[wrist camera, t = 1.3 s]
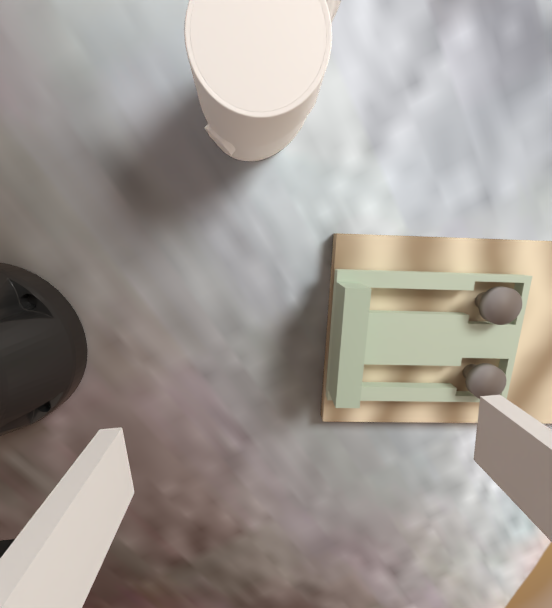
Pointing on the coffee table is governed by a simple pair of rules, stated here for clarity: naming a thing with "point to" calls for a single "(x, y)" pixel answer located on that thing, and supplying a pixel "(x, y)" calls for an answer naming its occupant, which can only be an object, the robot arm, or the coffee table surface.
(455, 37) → the coffee table surface
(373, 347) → the panel
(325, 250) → the coffee table surface
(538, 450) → the robot arm
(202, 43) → the mug
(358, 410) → the board
